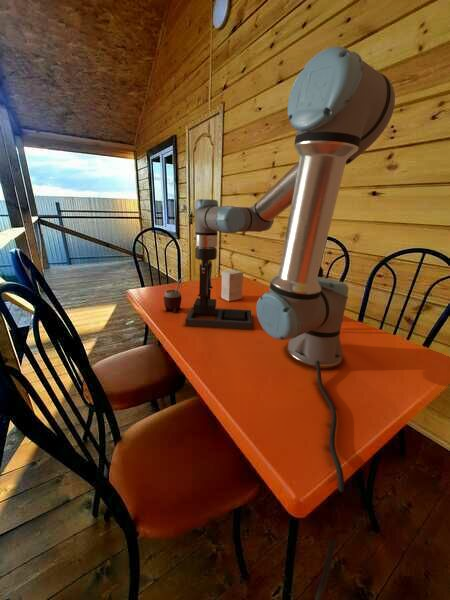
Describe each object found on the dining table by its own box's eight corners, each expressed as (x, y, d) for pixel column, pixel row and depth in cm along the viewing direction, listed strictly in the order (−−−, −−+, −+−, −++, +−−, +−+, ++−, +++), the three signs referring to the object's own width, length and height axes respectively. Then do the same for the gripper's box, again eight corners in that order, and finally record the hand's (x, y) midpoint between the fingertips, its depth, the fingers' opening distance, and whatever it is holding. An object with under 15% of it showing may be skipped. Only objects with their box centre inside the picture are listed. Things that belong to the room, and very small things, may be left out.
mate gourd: (162, 308, 106) (160, 273, 101) (180, 305, 110) (179, 271, 105) (167, 314, 100) (166, 277, 95) (186, 311, 104) (186, 275, 99)
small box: (233, 295, 126) (235, 269, 122) (242, 298, 122) (243, 272, 117) (220, 297, 122) (221, 271, 117) (228, 301, 117) (229, 274, 113)
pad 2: (244, 325, 93) (244, 318, 92) (223, 324, 93) (224, 317, 92) (243, 317, 100) (244, 310, 99) (224, 316, 100) (225, 309, 99)
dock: (251, 329, 90) (252, 323, 89) (185, 325, 91) (185, 319, 90) (250, 315, 102) (250, 310, 101) (191, 312, 103) (191, 306, 102)
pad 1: (214, 313, 92) (214, 306, 91) (193, 312, 92) (193, 304, 91) (215, 306, 99) (216, 299, 98) (196, 305, 99) (196, 298, 98)
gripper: (199, 243, 97) (199, 299, 105) (189, 251, 78) (190, 319, 86) (219, 244, 97) (217, 300, 105) (214, 252, 78) (212, 320, 86)
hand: (205, 308), depth 95 cm, fingers closed on pad 1, 7 cm apart
